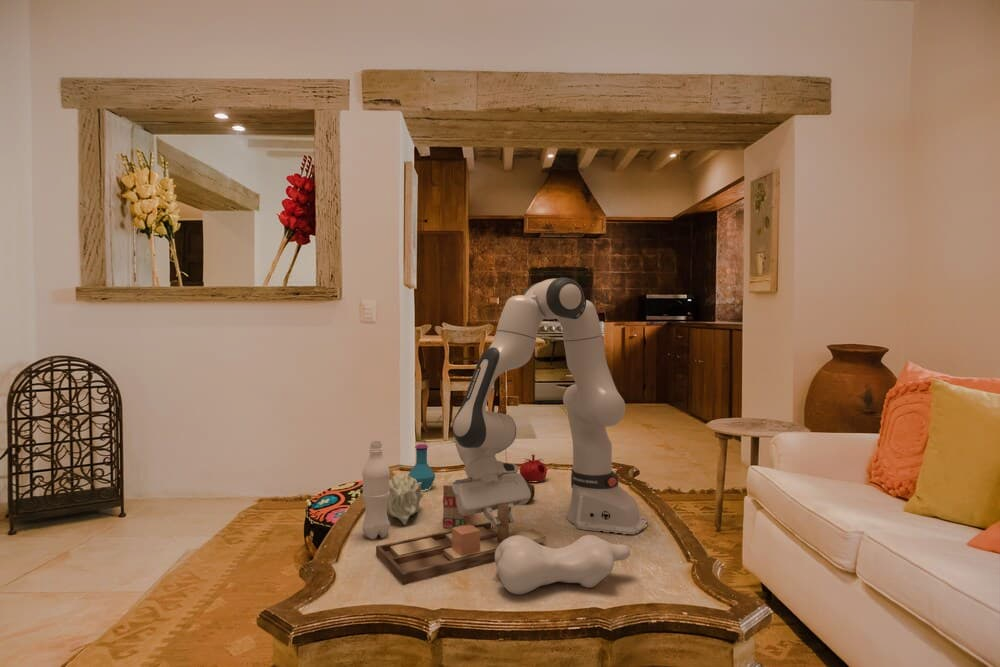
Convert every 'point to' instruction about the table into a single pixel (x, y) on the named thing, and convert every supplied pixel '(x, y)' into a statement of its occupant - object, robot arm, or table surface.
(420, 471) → the perfume bottle
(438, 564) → the board
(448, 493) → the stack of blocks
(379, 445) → the water bottle
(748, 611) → the table surface
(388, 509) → the wavy plaster lump
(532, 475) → the pomegranate
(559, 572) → the torso sculpture
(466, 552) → the terracotta cube
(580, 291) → the robot arm
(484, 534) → the broken strip
